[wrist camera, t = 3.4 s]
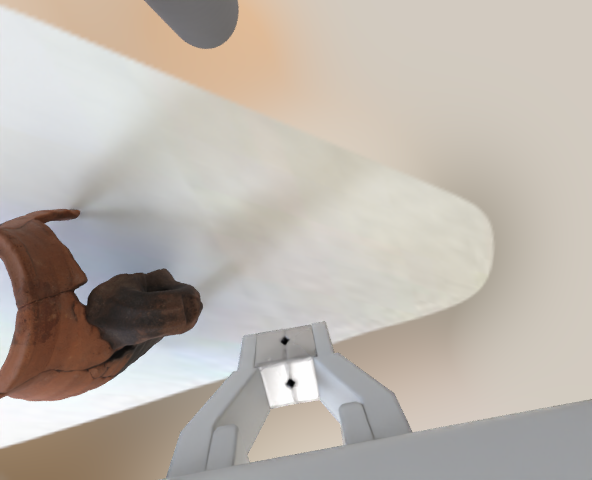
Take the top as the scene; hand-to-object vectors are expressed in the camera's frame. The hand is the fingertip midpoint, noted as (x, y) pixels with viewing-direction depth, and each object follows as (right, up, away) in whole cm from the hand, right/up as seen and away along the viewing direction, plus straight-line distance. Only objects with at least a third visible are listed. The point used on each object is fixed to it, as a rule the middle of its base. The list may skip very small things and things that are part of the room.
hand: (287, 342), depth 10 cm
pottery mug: (-11, +1, +7) cm, 13 cm away
